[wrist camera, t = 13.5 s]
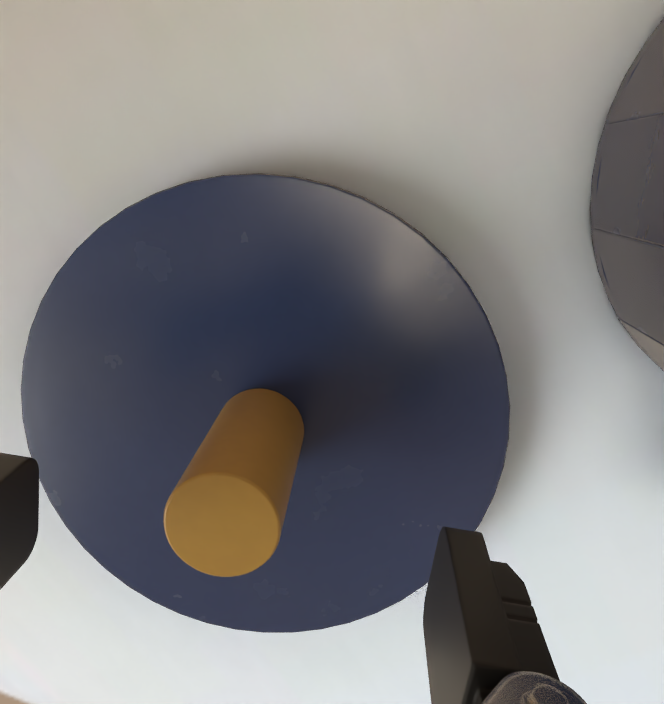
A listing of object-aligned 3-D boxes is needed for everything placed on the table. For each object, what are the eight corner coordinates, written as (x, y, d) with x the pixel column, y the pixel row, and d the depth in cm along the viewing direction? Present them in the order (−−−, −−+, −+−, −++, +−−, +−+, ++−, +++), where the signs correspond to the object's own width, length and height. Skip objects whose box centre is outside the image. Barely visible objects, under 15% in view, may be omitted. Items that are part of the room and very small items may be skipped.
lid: (-11, 511, 20) (-168, 653, 14) (121, 86, 16) (-18, 39, 10) (380, 668, 21) (385, 863, 15) (591, 299, 17) (709, 367, 11)
